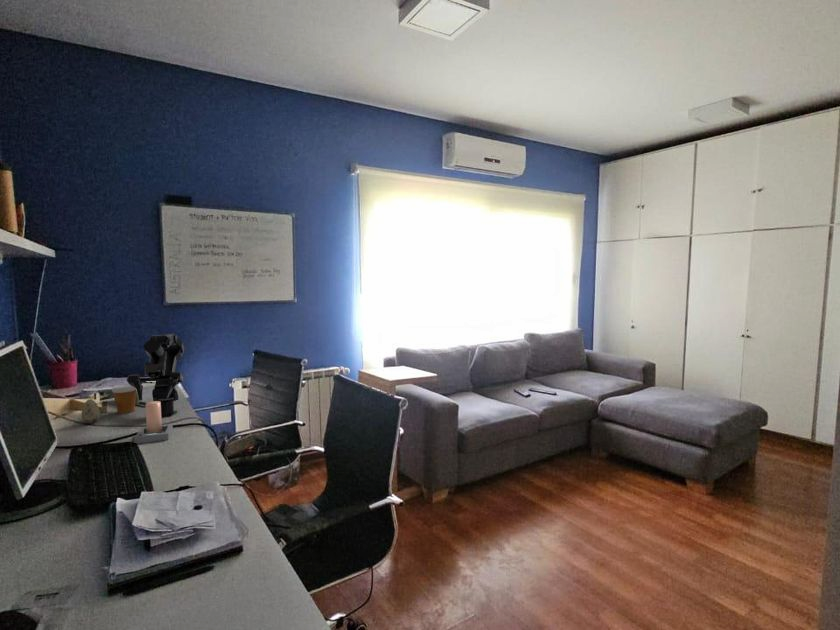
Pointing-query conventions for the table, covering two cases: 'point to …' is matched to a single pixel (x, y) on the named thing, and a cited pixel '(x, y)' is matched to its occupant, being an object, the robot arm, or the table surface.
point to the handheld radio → (139, 402)
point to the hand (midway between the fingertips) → (153, 398)
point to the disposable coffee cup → (124, 398)
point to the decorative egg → (90, 411)
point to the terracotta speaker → (153, 417)
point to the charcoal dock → (144, 437)
